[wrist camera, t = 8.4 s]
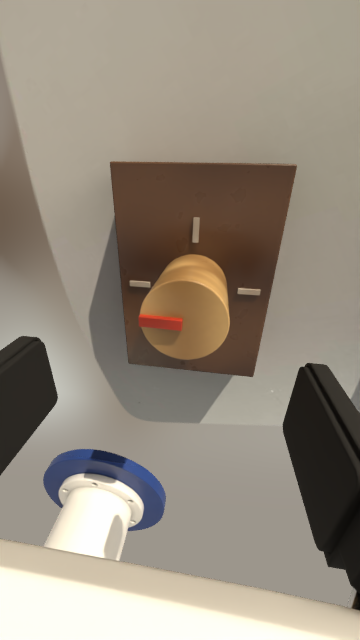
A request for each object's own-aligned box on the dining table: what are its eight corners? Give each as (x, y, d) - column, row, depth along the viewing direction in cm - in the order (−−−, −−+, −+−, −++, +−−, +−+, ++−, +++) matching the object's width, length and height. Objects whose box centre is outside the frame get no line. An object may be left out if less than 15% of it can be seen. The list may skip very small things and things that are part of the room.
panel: (249, 354, 22) (253, 379, 19) (138, 343, 23) (127, 365, 20) (284, 168, 15) (298, 163, 12) (126, 166, 16) (107, 160, 14)
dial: (231, 256, 15) (236, 286, 10) (222, 320, 17) (223, 368, 13) (160, 251, 16) (135, 277, 11) (160, 314, 18) (139, 358, 13)
